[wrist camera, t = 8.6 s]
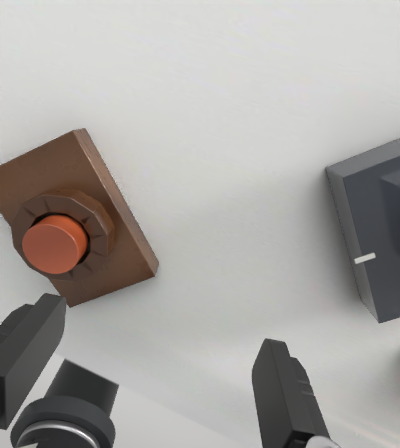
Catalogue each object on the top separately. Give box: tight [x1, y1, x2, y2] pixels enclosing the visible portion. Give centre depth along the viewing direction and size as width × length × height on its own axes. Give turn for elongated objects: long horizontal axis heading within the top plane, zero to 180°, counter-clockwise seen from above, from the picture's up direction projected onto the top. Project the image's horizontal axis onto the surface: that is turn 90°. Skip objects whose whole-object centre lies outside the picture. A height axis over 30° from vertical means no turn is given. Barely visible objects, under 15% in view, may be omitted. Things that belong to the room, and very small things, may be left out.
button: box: [22, 215, 88, 274], centre depth 20 cm, size 4×4×2 cm
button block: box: [0, 128, 159, 308], centre depth 22 cm, size 12×8×4 cm, turn 23°
